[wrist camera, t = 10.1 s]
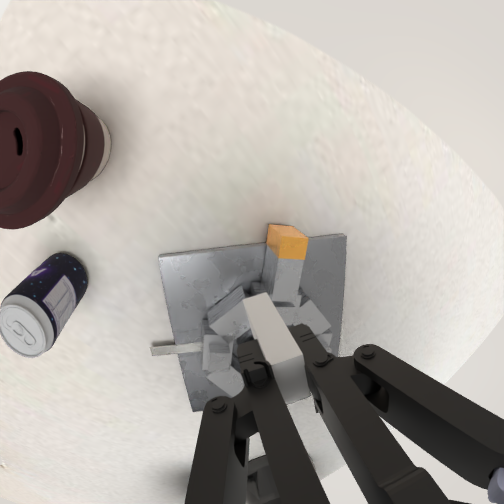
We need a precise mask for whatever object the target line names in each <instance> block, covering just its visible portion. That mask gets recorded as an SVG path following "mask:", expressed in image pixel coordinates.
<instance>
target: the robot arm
mask: <svg viewBox="0 0 504 504" xmlns="http://www.w3.org/2000/svg"><path fill="white" fill-rule="evenodd" d="M243 303H244V307H245V310H246V314H247V317H248V320H249V324H250V327H251V331H252V334H253V337H254V340H252V341H249V342H245V343H242V344H239V345H238V348H237V351H236V352H237V355H238V359H239V363H240V366H241V376H242V379H243V381H244V384H245V385H244V388H243V390H242V391H241V392H240V393H239V394H237V395H236V396H234V397H232V398H230V397H227V396H218V397H214V398H212V399H210V400H209V401H208V402H207V403H206V405H205V407H204V410H203V415H202V420H201V425H200V429H199V434H198V439H197V444H196V449H195V454H194V459H193V464H192V469H191V474H190V479H189V484H188V489H187V494H186V499H185V504H330V502H329V500H328V498H327V496H326V494H325V491H324V489H323V487H322V485H321V483H320V480H319V478H318V476H317V474H316V472H315V466H314V464H313V462H312V459H311V458H310V457H309V456H308V454H307V451H306V449H305V447H304V445H303V442H302V440H301V438H300V436H299V433H298V431H297V429H296V426H295V424H294V422H293V420H292V417H291V415H290V413H289V410H288V408H287V406H286V405H287V404H290V403H293V402H296V401H299V400H302V399H304V398H307V397H310V396H311V394H310V391H311V393H312V395H313V398H314V404H315V409H316V413H320V415H321V417H322V419H323V420H324V422H325V424H326V426H327V428H328V430H329V432H330V434H331V435H332V437H333V439H334V441H335V443H336V445H337V447H338V449H339V450H340V452H341V454H342V456H343V458H344V460H345V462H346V463H347V465H348V467H349V469H350V471H351V472H352V474H353V476H354V478H355V480H356V482H357V484H358V485H359V487H360V489H361V491H362V493H363V495H364V496H365V498H366V500H367V502H368V504H469V503H464V502H459V501H454V500H448V498H447V497H446V496H445V494H444V493H443V492H442V490H441V489H440V488H439V486H438V485H437V484H436V482H435V481H434V479H433V478H432V477H431V475H430V474H429V473H428V472H427V471H426V470H425V469H424V468H422V467H416V466H415V465H414V464H413V463H412V461H411V460H410V458H409V457H408V456H407V454H406V453H405V452H404V450H403V449H402V447H401V446H400V445H399V443H398V442H397V441H396V439H395V438H394V436H393V435H392V434H391V432H390V431H389V429H388V428H387V427H386V425H385V424H384V422H383V421H382V420H381V418H383V419H384V420H385V421H386V422H388V423H389V424H390V425H392V426H393V427H394V428H396V429H397V430H398V431H399V432H401V433H402V434H403V435H405V436H406V437H407V438H409V439H410V440H411V441H413V442H414V443H415V444H417V445H418V446H419V447H421V448H422V449H423V450H425V451H426V452H427V453H429V454H430V455H432V456H433V457H434V458H436V459H437V460H438V461H440V462H441V463H442V464H444V465H445V466H447V467H448V468H450V469H451V470H452V471H454V472H455V473H457V474H458V475H459V476H461V477H463V478H464V479H465V480H467V481H468V482H470V483H472V484H474V485H476V486H478V487H481V488H484V489H487V490H488V499H489V501H490V502H492V503H497V504H504V419H502V418H500V417H498V416H497V415H495V414H493V413H491V412H490V411H488V410H486V409H484V408H482V407H481V406H479V405H477V404H476V403H474V402H472V401H471V400H469V399H467V398H465V397H463V396H462V395H460V394H458V393H457V392H455V391H453V390H452V389H450V388H448V387H446V386H445V385H443V384H441V383H440V382H438V381H436V380H434V379H433V378H431V377H429V376H428V375H426V374H424V373H423V372H421V371H419V370H417V369H416V368H414V367H412V366H411V365H409V364H407V363H406V362H404V361H402V360H401V359H399V358H397V357H396V356H394V355H392V354H391V353H389V352H387V351H386V350H384V349H382V348H381V347H379V346H376V345H374V344H367V345H362V346H360V347H358V348H357V349H356V350H355V352H354V356H348V357H336V356H335V355H333V354H332V353H329V352H327V351H326V350H325V348H324V347H323V345H322V344H321V343H320V341H319V340H318V338H317V337H316V336H315V334H314V333H313V331H312V330H311V329H310V327H309V326H307V325H305V324H303V323H301V324H298V325H296V326H293V327H290V328H287V326H286V325H285V323H284V321H283V320H282V318H281V316H280V315H279V313H278V311H277V309H276V308H275V306H274V304H273V303H272V301H271V299H270V298H269V296H268V294H267V292H265V293H262V294H259V295H256V296H252V297H249V298H246V299H243ZM318 411H319V412H318ZM378 415H379V416H380V417H381V418H380V417H379V416H378ZM257 432H259V434H260V437H261V440H262V443H263V447H264V450H265V453H266V456H262V457H259V458H257V459H254V460H252V461H250V462H248V457H249V437H250V436H252V435H254V434H255V433H257Z"/></svg>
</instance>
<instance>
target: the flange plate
mask: <svg viewBox="0 0 504 504" xmlns="http://www.w3.org/2000/svg"><path fill="white" fill-rule="evenodd" d="M308 238H309V239H308V245H307V250H306V256H305V260H304V263H303V268H302V273H301V278H300V284H299V288H300V287H301V288H302V289H303V291H304V292H305V293H306V294H307V296H308V297H309V298H310V299H311V301H312V302H313V303H314V304H315V306H316V307H317V308H318V310H319V311H320V312H321V313H322V315H323V316H324V317H325V318H326V320H327V321H328V322H329V324H330V325H331V327H330V328H329V330H330V331H331V332H332V338H331V341H330V345H329V347H330V348H331V349H332V351H331V353H332V354H333V355H335V356H336V357H338V351H339V342H340V332H341V322H342V310H343V297H344V282H345V264H346V239H347V236H346V235H344V234H335V235H326V236H317V237H308ZM266 246H267V244H266V242H265V243H256V244H247V245H239V246H230V247H222V248H213V249H205V250H196V251H188V252H180V253H172V254H163V255H159V257H158V259H159V265H160V271H161V277H162V282H163V288H164V293H165V298H166V303H167V308H168V313H169V318H170V323H171V327H172V332H173V336H174V341H175V345H168V346H157V347H150V350H151V353H152V356H157V355H168V354H178V358H179V362H180V366H181V370H182V374H183V378H184V381H185V385H186V389H187V393H188V396H189V400H190V404H191V407H192V411H193V412H196V411H203V410H204V407H205V405H206V403H207V402H208V401H209V400H210V399H212V398H214V397H218V396H227V397H230V398H232V396H230V395H229V394H228V393H226V392H225V391H224V390H222V389H221V388H220V387H218V386H217V385H216V384H214V383H213V382H212V381H210V380H209V379H208V378H206V373H205V370H202V361H201V342H202V325H203V320H208V313H207V311H209V310H210V309H211V308H213V307H214V306H215V305H216V304H218V303H219V302H220V301H221V300H223V299H224V298H225V297H227V296H228V295H229V294H230V293H232V292H233V291H234V290H235V289H237V288H238V287H239V286H240V285H241V286H242V287H243V288H244V289H245V290H246V291H247V292H248V294H249V293H250V285H251V282H261V281H262V274H263V267H264V260H265V253H266ZM286 326H287V328H290V327H293V326H294V325H293V324H292V325H286ZM252 340H254V337H253V334H252V331H251V328H250V329H249V330H247V331H246V332H245V333H243V334H242V335H241V336H239V337H238V338H237V339H235V340H234V342H233V350H232V354H233V355H234V356H235V357H236V358H237V359H238V355H237V352H236V351H237V348H238V345H239V344H242V343H245V342H249V341H252ZM238 360H239V359H238ZM310 392H311V391H310ZM235 396H236V395H235Z"/></svg>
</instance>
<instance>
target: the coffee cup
mask: <svg viewBox="0 0 504 504" xmlns="http://www.w3.org/2000/svg"><path fill="white" fill-rule="evenodd" d="M110 151H111V139H110V134H109V131H108V129H107V127H106V125H105V124H104V123H103V121H102V120H101V119H100V118H98V117H97V116H96V115H95V114H94V113H93V112H92V111H91V110H90V109H89V108H88V107H86V106H85V105H83V104H82V103H80V102H79V101H77V100H76V99H74V97H73V96H72V94H71V93H70V91H69V90H68V89H67V88H66V87H65V86H64V85H63V84H61V83H60V82H59V81H57V80H55V79H53V78H51V77H49V76H47V75H45V74H42V73H38V72H31V71H27V72H19V73H15V74H12V75H10V76H7V77H5V78H4V79H2V80H1V81H0V228H4V229H19V228H24V227H27V226H30V225H32V224H34V223H36V222H38V221H40V220H42V219H43V218H45V217H46V216H48V215H49V214H51V213H52V212H53V211H54V210H55V209H56V208H58V206H59V205H60V204H61V203H62V202H63V200H64V199H65V198H67V197H68V196H70V195H72V194H73V193H75V192H76V191H78V190H80V189H81V188H83V187H84V186H85V185H86V184H87V183H88V182H89V181H91V180H93V179H94V178H95V177H97V176H98V175H99V174H100V172H101V171H102V170H103V168H104V167H105V165H106V163H107V161H108V158H109V155H110Z"/></svg>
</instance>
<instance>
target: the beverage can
mask: <svg viewBox="0 0 504 504" xmlns="http://www.w3.org/2000/svg"><path fill="white" fill-rule="evenodd" d="M86 289H87V276H86V273H85V270H84V268H83V267H82V265H81V264H80V263H79V262H78V261H77V260H76V259H75V258H74V257H72V256H70V255H68V254H64V253H58V254H54V255H52V256H50V257H49V258H48V259H47V260H45V261H44V262H43V263H42V264H41V265H40V266H39V267H37V268H36V269H35V270H34V271H33V272H32V273H31V274H30V275H29V276H27V277H26V278H25V279H24V280H23V281H22V282H21V283H20V284H19V285H18V286H17V287H16V288H15V289H13V290H12V291H11V292H10V293H9V294H8V295H7V296H6V297H5V298H4V300H3V301H2V304H1V307H0V335H1V337H2V338H3V340H4V341H5V343H6V344H7V345H8V346H9V347H10V348H11V349H12V350H13V351H14V352H16V353H17V354H19V355H21V356H24V357H28V358H35V357H38V356H40V355H41V354H42V353H44V352H46V351H48V350H49V349H51V347H52V346H53V344H54V343H55V341H56V339H57V337H58V336H59V334H60V332H61V331H62V329H63V327H64V326H65V324H66V322H67V321H68V319H69V317H70V316H71V314H72V313H73V311H74V309H75V308H76V306H77V305H78V303H79V302H80V300H81V299H82V297H83V295H84V294H85V292H86Z"/></svg>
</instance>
